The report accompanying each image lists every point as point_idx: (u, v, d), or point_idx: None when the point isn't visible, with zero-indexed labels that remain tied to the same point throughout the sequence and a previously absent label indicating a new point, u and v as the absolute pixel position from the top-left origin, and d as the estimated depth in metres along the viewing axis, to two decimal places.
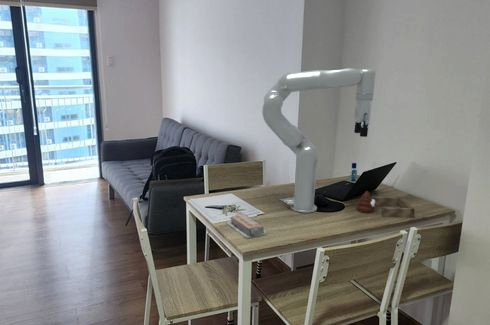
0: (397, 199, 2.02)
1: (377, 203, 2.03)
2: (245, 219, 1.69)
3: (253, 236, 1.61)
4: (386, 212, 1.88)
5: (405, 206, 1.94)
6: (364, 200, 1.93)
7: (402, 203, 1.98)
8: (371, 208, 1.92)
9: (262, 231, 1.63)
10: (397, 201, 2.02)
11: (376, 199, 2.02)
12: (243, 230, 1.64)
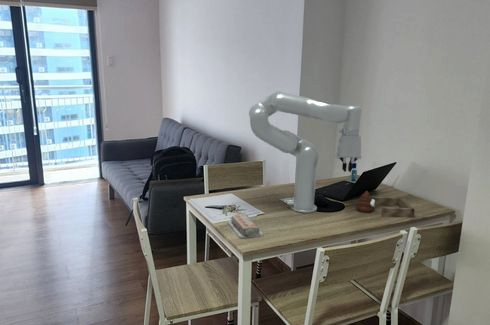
0: (397, 199, 2.02)
1: (377, 203, 2.03)
2: (244, 219, 1.68)
3: (247, 236, 1.60)
4: (386, 212, 1.88)
5: (405, 206, 1.94)
6: (364, 200, 1.93)
7: (402, 203, 1.98)
8: (371, 208, 1.92)
9: (258, 232, 1.62)
10: (397, 201, 2.02)
11: (376, 199, 2.02)
12: (239, 230, 1.64)
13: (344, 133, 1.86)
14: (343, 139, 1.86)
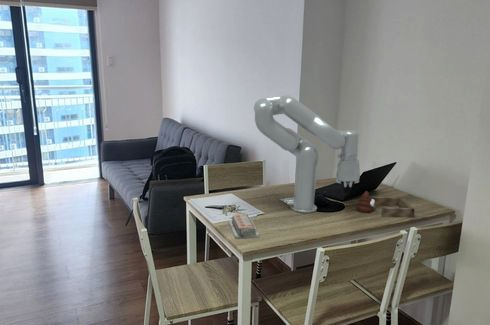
0: (397, 199, 2.02)
1: (377, 203, 2.03)
2: (242, 219, 1.68)
3: (243, 236, 1.60)
4: (386, 212, 1.88)
5: (405, 206, 1.94)
6: (364, 200, 1.93)
7: (402, 203, 1.98)
8: (371, 208, 1.92)
9: (253, 233, 1.61)
10: (397, 201, 2.02)
11: (376, 199, 2.02)
12: (236, 229, 1.64)
13: (342, 158, 1.89)
14: (342, 164, 1.89)
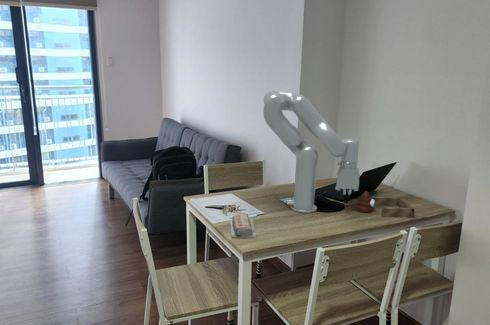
0: (397, 199, 2.02)
1: (377, 203, 2.03)
2: (242, 219, 1.68)
3: (239, 236, 1.60)
4: (386, 212, 1.88)
5: (405, 206, 1.94)
6: (363, 200, 1.93)
7: (402, 203, 1.98)
8: (370, 208, 1.92)
9: (250, 233, 1.60)
10: (397, 201, 2.02)
11: (376, 199, 2.02)
12: (234, 229, 1.65)
13: (342, 166, 1.89)
14: (341, 172, 1.89)
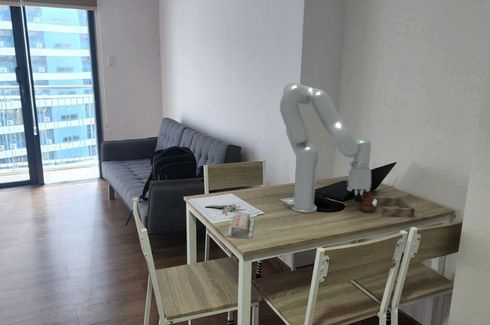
0: (397, 199, 2.02)
1: (377, 203, 2.03)
2: (241, 219, 1.69)
3: (234, 236, 1.60)
4: (386, 212, 1.88)
5: (405, 206, 1.94)
6: (366, 200, 1.93)
7: (402, 203, 1.98)
8: (373, 208, 1.92)
9: (246, 233, 1.60)
10: (397, 201, 2.02)
11: (376, 199, 2.02)
12: None
13: (354, 166, 1.89)
14: (353, 172, 1.89)
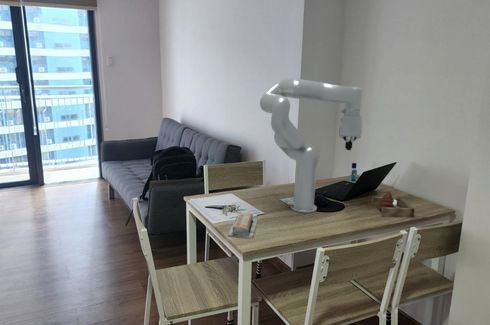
0: (397, 199, 2.02)
1: (377, 203, 2.03)
2: (243, 219, 1.69)
3: (235, 235, 1.61)
4: (386, 212, 1.88)
5: (405, 206, 1.94)
6: (386, 200, 1.93)
7: (402, 203, 1.98)
8: None
9: (246, 233, 1.60)
10: (397, 201, 2.02)
11: (376, 199, 2.02)
12: None
13: (345, 113, 1.95)
14: (345, 119, 1.95)
